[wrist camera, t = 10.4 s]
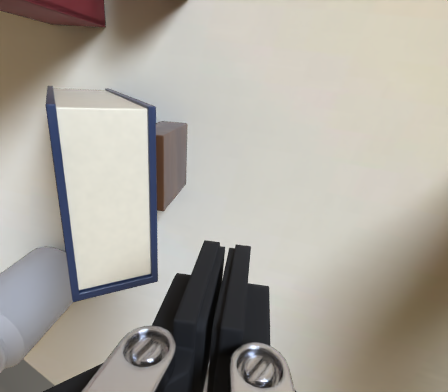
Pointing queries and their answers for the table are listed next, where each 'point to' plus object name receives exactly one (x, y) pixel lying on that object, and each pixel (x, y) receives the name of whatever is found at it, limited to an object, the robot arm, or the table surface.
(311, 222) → the table surface
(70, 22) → the burgundy book
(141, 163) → the navy book
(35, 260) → the can
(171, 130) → the walnut block
